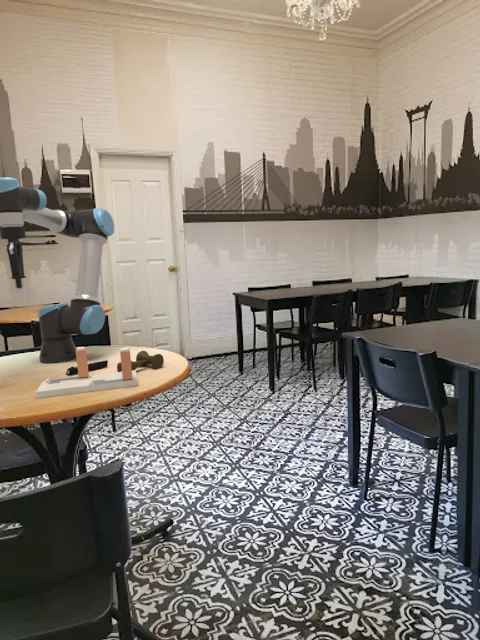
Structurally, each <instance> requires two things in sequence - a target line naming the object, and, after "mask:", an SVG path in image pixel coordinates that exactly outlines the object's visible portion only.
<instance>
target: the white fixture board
mask: <svg viewBox="0 0 480 640" xmlns="http://www.w3.org/2000/svg"><path fill="white" fill-rule="evenodd" d="M132 378H133V379H127V380H123V377H122V372H118V371H117V372H109V373H107V372H106V373H100V374H93V372H89V376H88V377H81V378H79V376H70V377H64V378H57V379H56V378H55V379H51V377H47V378H46V379H45V380H43V381H41V383H40V385H39V386H38V389H37V390H36V398H37V399H43V398H44V399H45V398H49V397H50V398H51V397H58V396H65V395H73V394H75V395H76V394H83V393H89V392H99V391H104V390H106V391H107V390H112V389H113V390H114V389H121V388H130V387H137V386H139V381H138V373H137V370H136V369H135V370H132Z"/></svg>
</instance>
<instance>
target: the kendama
mask: <svg viewBox="0 0 480 640" xmlns="http://www.w3.org/2000/svg"><path fill="white" fill-rule="evenodd" d="M164 359H165V358H164V356H163V355H162V354H161V353H156V354H153V355H149V353H148V351H145V350H140V351H139V352H138V353H137V354H136V358H135V361H133V360H131V368H132V370H136V369H138V368H140V367H145V366H148V365H150V366H151V367H152V368H153V369H155V370H159V369H161V368H163V366H164V362H165V360H164ZM116 370H117V372H122V367H121V361H120V362H118V363H117V365H116Z"/></svg>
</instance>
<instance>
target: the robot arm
mask: <svg viewBox="0 0 480 640" xmlns="http://www.w3.org/2000/svg"><path fill="white" fill-rule="evenodd" d="M47 203H48V200H47V196H46V194H45V193H44V191H42V190H40V189H37V188H35V187H24V186H20V182H19V180H18V179H17V178H15V177H5V176H4V177H0V239H1V240H7V244H6V252H7V255H8V261H9V266H10V271H11V277H10V279H11V280H13V283H14V288H15V295H16V299H26V298H27V295H26V286H25V280H24V279H26V278H27V276H26V275H25V270H24V267H25V265H24V255H23V245H22V244H21V243H20V240H21V239H25V238H26V230H25V229H26V228H25V227H24V225H25V222H28V223H31V224H34V225H37V226H40V227H42V228H47V229H49V230H50V232H51V233H55V234H59V235H62V236H66V237H70V238H76V239H77V238H78V240H79V241H81V247H80V255H79V263H78V272H77V279H76V280H77V281H76V287H75V296H74V297H73V298H71V299H70V305H69V303H68V302H63V303H56V304H52V305H45V306H42V307H40V308H39V310H38V319H39V326H40V327H39V329H40V335H41V341H42V342H41V347H40V352H39V363H43V364H51V363H52V364H53V363H54V364H55V363H63V362H67V361H72V360H75V359H77V358H76V349H77V347H76V344H75V343H74V341H73V337H72V335H87V336H88V335H93V334H97V333H99V331H101V329H102V328H103V327H104V324H105V321H106V313H105V310H104V308H103V307H102V306H101V302H100V300H98V294H99V293H98V292H99V284H100V283H99V282H100V276H101V275H100V274H101V267H102V266H101V265H102V257H103V247H104V246H105V244H107V243H108V237H111V236H113V234H114V233H115V223H114V219H113V216H112V215H111V213H110V212H109V211H108V210H107V209H105V208H97V207H95V208H92V209H80V210H79V209H78V210H66V211H63V210H61V209H50V208H47V207H46V206H47Z"/></svg>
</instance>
